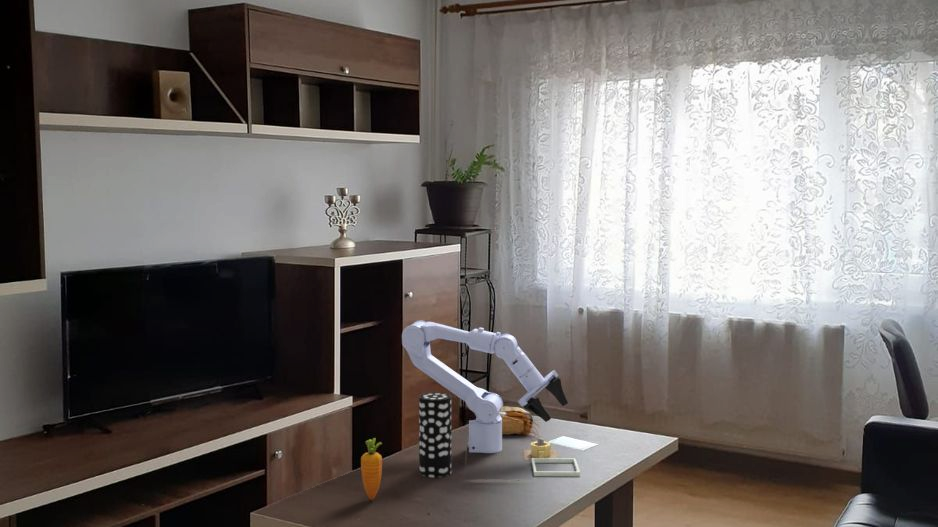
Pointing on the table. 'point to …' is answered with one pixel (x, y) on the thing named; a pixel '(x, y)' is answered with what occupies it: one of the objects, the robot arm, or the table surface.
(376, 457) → the carrot
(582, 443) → the hard drive
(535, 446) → the ring
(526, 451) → the tan square peg base
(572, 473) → the tray
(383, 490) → the table surface
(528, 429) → the nautilus
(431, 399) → the spotted tube
